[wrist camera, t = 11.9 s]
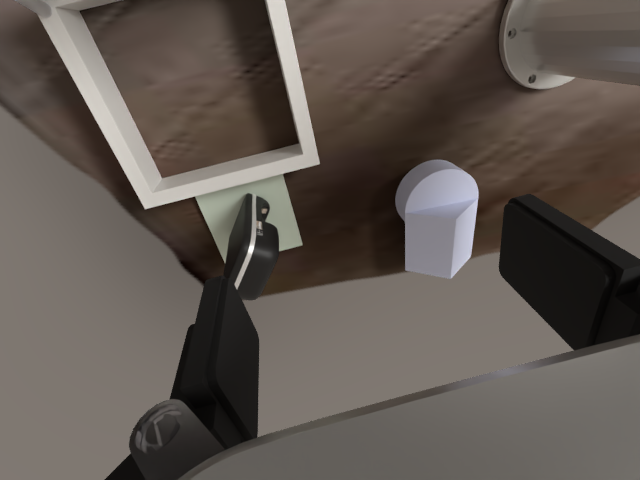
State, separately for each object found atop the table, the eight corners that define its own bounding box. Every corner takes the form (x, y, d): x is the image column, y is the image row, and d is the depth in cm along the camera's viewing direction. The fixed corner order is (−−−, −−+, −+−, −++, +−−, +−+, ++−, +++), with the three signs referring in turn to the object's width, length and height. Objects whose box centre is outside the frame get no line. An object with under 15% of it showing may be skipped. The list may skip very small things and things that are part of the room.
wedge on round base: (458, 243, 47) (466, 153, 40) (485, 271, 42) (501, 172, 35) (396, 256, 47) (394, 167, 40) (415, 286, 41) (417, 189, 34)
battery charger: (258, 248, 42) (258, 312, 32) (227, 239, 40) (218, 303, 31) (279, 200, 39) (286, 254, 29) (247, 188, 38) (243, 241, 28)
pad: (281, 169, 38) (281, 171, 37) (302, 242, 43) (302, 245, 42) (194, 192, 37) (193, 194, 37) (226, 262, 43) (225, 265, 42)
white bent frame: (256, -113, 26) (252, -387, 9) (314, 152, 37) (360, 247, 20) (24, -59, 25) (-428, -243, 9) (155, 193, 37) (70, 324, 20)
